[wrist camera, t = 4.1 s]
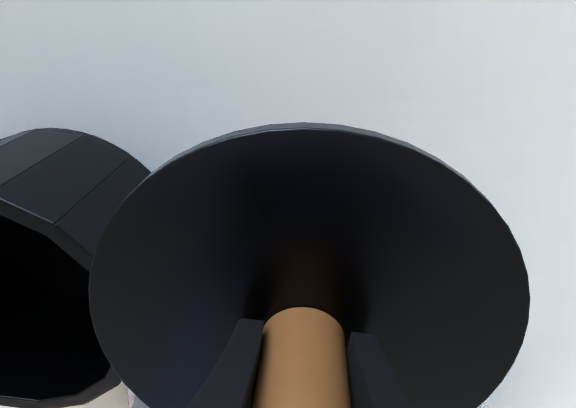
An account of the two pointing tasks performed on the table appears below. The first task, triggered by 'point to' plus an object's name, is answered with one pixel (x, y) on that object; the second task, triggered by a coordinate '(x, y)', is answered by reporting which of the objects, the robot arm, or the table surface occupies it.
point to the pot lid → (309, 270)
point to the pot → (55, 262)
